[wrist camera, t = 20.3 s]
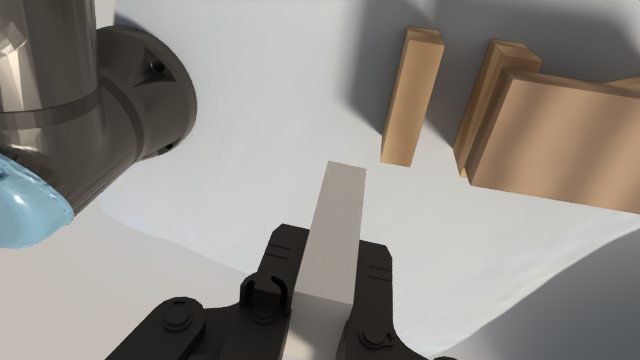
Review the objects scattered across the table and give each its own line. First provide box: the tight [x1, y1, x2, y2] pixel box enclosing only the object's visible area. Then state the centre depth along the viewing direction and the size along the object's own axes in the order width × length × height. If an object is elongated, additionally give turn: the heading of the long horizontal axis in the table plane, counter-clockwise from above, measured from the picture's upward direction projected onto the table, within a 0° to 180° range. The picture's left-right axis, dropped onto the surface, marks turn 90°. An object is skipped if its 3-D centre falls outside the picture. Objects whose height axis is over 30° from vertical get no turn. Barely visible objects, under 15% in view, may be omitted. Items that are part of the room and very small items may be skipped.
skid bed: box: [380, 26, 543, 178], centre depth 38 cm, size 11×12×6 cm
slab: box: [464, 68, 640, 214], centre depth 34 cm, size 16×10×3 cm, turn 83°
